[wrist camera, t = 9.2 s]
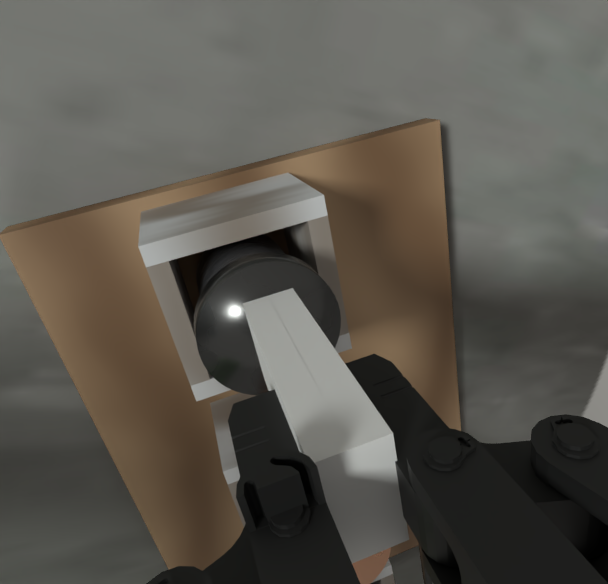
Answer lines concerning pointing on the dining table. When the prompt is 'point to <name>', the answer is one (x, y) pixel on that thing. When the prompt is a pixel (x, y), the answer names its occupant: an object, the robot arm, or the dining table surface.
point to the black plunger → (243, 288)
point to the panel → (184, 295)
